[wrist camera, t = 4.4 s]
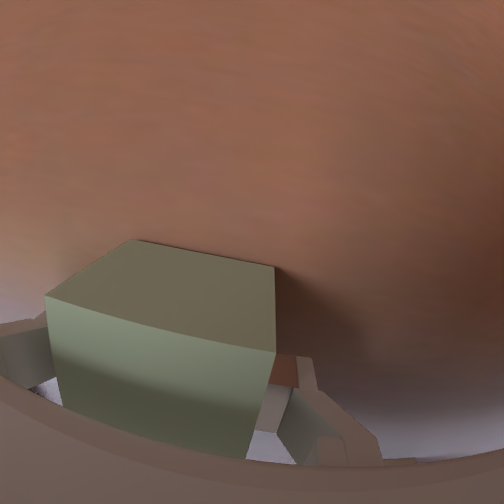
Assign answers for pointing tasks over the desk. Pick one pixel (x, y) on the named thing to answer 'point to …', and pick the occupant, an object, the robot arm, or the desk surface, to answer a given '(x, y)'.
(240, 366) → the sage block
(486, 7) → the desk surface
